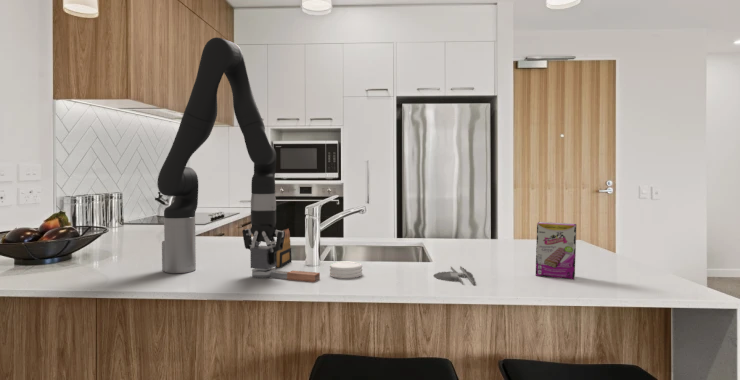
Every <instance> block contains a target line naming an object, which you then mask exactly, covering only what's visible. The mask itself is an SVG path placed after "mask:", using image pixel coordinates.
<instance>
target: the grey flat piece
mask: <svg viewBox="0 0 740 380" xmlns="http://www.w3.org/2000/svg"><path fill="white" fill-rule="evenodd" d="M459 270H461V272H458V271H457V270H456V269H455V268H454V267H453V266H450V271H441V272H440V271H438V272H437V273H434V274H433V277H434V278H435V279H436V280H440V281H445V282H455V283H458V282H459V283H460V284H461V285H464V281H463V280H462V279H461V278H463V279H467V280H468V281H469V282H470V283H471V285H472V286H476V280H475V278H474V275H473V273H472V272H470V271H467V269H466V268H464V267H463V266H462V265H460V266H459Z"/></svg>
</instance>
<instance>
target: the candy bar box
mask: <svg viewBox="0 0 740 380" xmlns="http://www.w3.org/2000/svg"><path fill="white" fill-rule="evenodd" d="M535 247H536V250H535V252H536V253H535V254H536V255H535V276H536V277H537V276H538V277H545V278H556V279H567V280H575V277H576V256H577V254H576V253H577V252H576V250H577V248H576V247H577V223H568V222H567V223H566V222H552V221H538V222H537V223H536V246H535Z"/></svg>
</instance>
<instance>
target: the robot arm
mask: <svg viewBox="0 0 740 380" xmlns="http://www.w3.org/2000/svg"><path fill="white" fill-rule="evenodd" d="M223 75H225V77H226V78H227V81H228V82H229V83H228V84H229V85H230V89H231V93H232V105H233V112H234V115H235V119H236V121H237V124H238V126H239V129H240V131H241V134H242V135H243V139H244V143H245V147H246V150H247V153H248V156H249V158H250V160H251V162H252V163H253V175H252V177H251V184H250V185H251V190H250V191H251V198H250V225H251V227H250V228H246V229H242V237H243V238H242V239H243V243H244V249H246V250H250V248H253V247H258V246H260V245H261V243H265V244H266V245H265V246H268V247H269V250H270V252H271V253H270V265H274V264H275V262H276V261H277V258H276V257H277V251H279V250H282V249H283V243H284V237H285V231H284V230H283V231H282V230H278V229H277V227H276V224H277V198H276V180H275V179H276V178H275V175H276V168H277V167H276V166H277V152H276V149H275V148H274V146H272V145H271V143H270V141H269V139H268V137H267V134H266V132H265V131H266V127H265V124H264V121H263V118H262V116H261V113H260V111H259V108H258V106H257V102H256V101H255V97H254V95H253V94H254V93H253V91H252V87H251V83H250V80H249V79H250V78H249V75H248V71H247V67H246V61H245V58H244V54H243V51H242V49H241V47H240V46H239V45H238V44H237V43H235V42H233V41H231V40H227V39H225V38H222V37H213V38H210V39H209V40H208V41H207V42H206V43H205V45H204V47H203V49H202V53H201V55H200V61H199V65H198V69H197V73H196V78H195V79H194V80H195V81H194V83H193V87H192V89H191V93H190V95H189V98H188V101H187V104H186V105H185V109H184V111H183V114H182V117H181V121H180V122H179V125H178V126H179V127H178V129H177V132H176V134H175V137H174V140H173V142H172V145H171V147H170V150H169V151H168V153H167V156H166V158H165V160H164V162H163V164H162V166H161V168H160V170H159V173H158V177H157V181H156V182H157V183H156V184H157V189H158V191H159V193H161V195H163V196H165V197H174V201H173V202H172V203H171V204H170V205H168V206H167V207H165V208H164V211H163V228H164V229H163V230H164V231H163V233H164V234H163V235H164V236H163V237H164V238H163V239H164V240H162V241H161V271H162V272H164V273H167V274H184V273H185V274H186V273H191V272H194V271H196V268H197V263H196V262H197V257H196V256H197V255H196V253H197V252H196V250H197V249H196V244H197V243H196V211H197V208H198V203H199V199H198V198H199V179H198V178H199V177H198V175H197V172H196V171H195V170H194V169H193V168H192V167H189V166H187V164H188V162H189V160H190V159H191V157H192V156H193V154H194V153H196V152H197V150H199V148H200V147H201V146H202V145H203V144H204V143H205V142H206V141H207V140H208V139H209V137H210V135H211V133H212V132H213V128H214V125H215V123H216V120H217V118H218V117H217V116H218V90H219V87H220V83H221V80H222V78H223ZM275 238H276V239H275Z"/></svg>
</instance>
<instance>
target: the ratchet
mask: <svg viewBox="0 0 740 380" xmlns="http://www.w3.org/2000/svg"><path fill="white" fill-rule="evenodd" d="M251 269H252V270H251V277H252V278H254V279H258V280H259V279H260V280H261V279H281V280H282V279H283V280H289V281H290V280H291V281H298V282H299V281H300V282H301V281H302V282H312V283H315V282H317V281H319V280H320V278H321V276H320V272H318V271H317V272H313V271H301V270H290V271H286V270H285V271H283V270H276V269H277V268H275V267H272V268H269V269H256V268H251Z"/></svg>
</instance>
